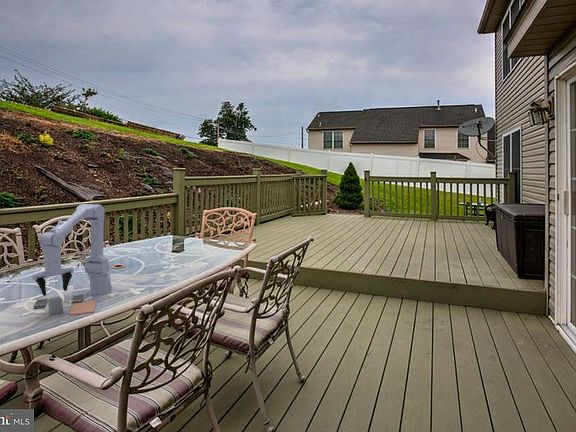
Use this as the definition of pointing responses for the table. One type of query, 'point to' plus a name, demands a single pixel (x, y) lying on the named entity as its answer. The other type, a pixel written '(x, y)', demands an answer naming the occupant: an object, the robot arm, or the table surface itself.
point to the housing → (43, 302)
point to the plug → (55, 305)
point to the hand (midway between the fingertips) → (54, 292)
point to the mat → (83, 308)
